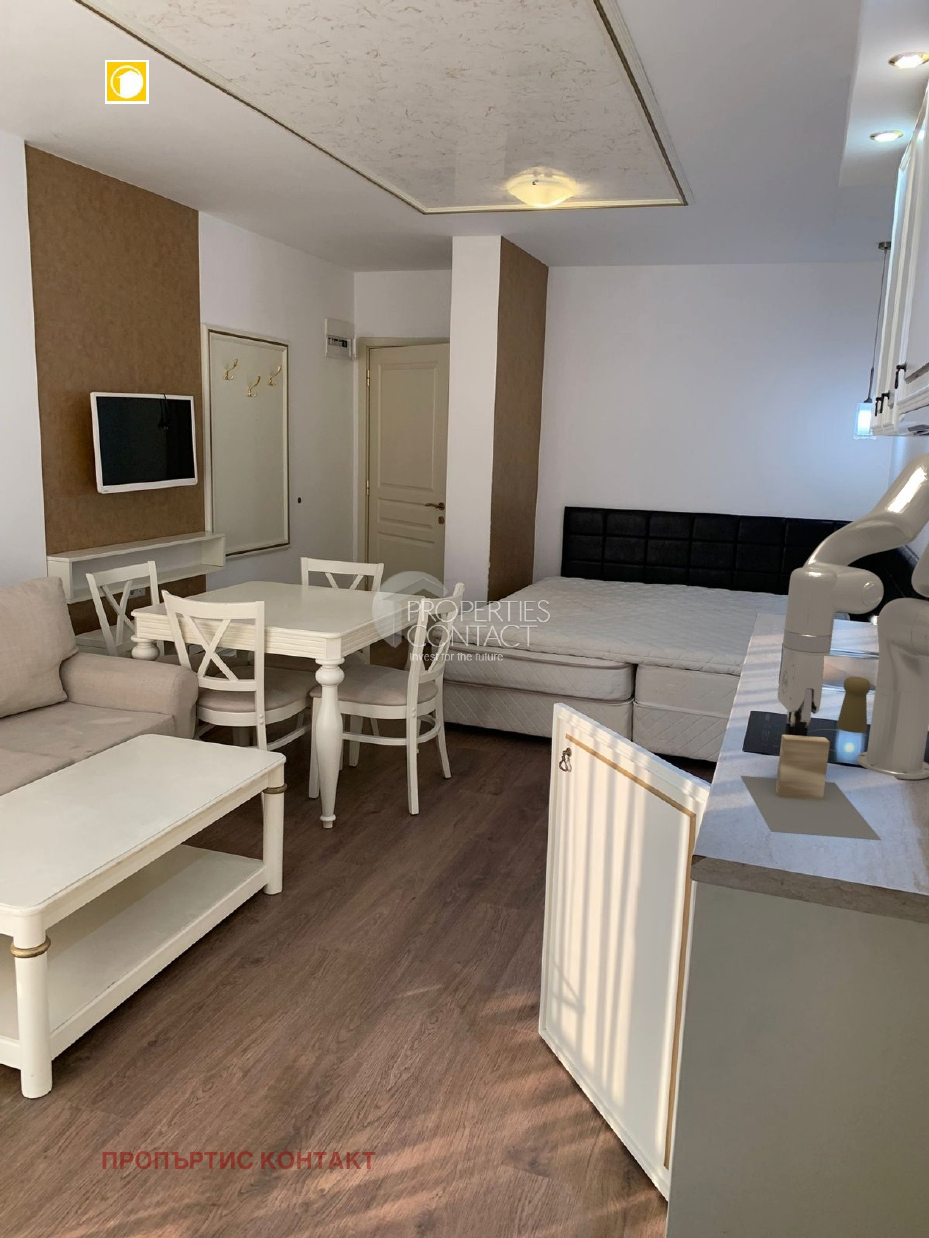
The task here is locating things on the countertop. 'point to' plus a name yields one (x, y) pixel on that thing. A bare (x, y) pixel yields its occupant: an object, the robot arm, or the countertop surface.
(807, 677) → the robot arm
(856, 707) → the olive brown pepper mill
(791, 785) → the card box
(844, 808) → the mat
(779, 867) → the countertop surface
